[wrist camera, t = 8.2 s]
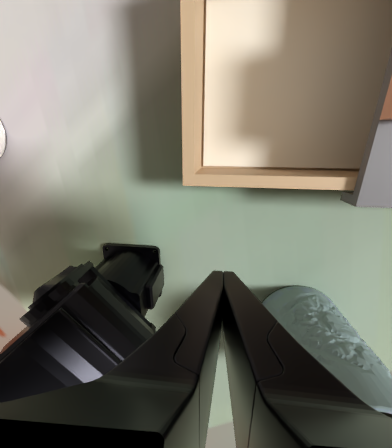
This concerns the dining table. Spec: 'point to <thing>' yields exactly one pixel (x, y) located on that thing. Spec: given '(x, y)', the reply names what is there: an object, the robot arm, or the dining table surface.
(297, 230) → the dining table surface
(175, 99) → the dining table surface
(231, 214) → the dining table surface
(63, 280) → the robot arm
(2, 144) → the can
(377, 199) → the lid
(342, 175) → the base
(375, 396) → the teal cup
